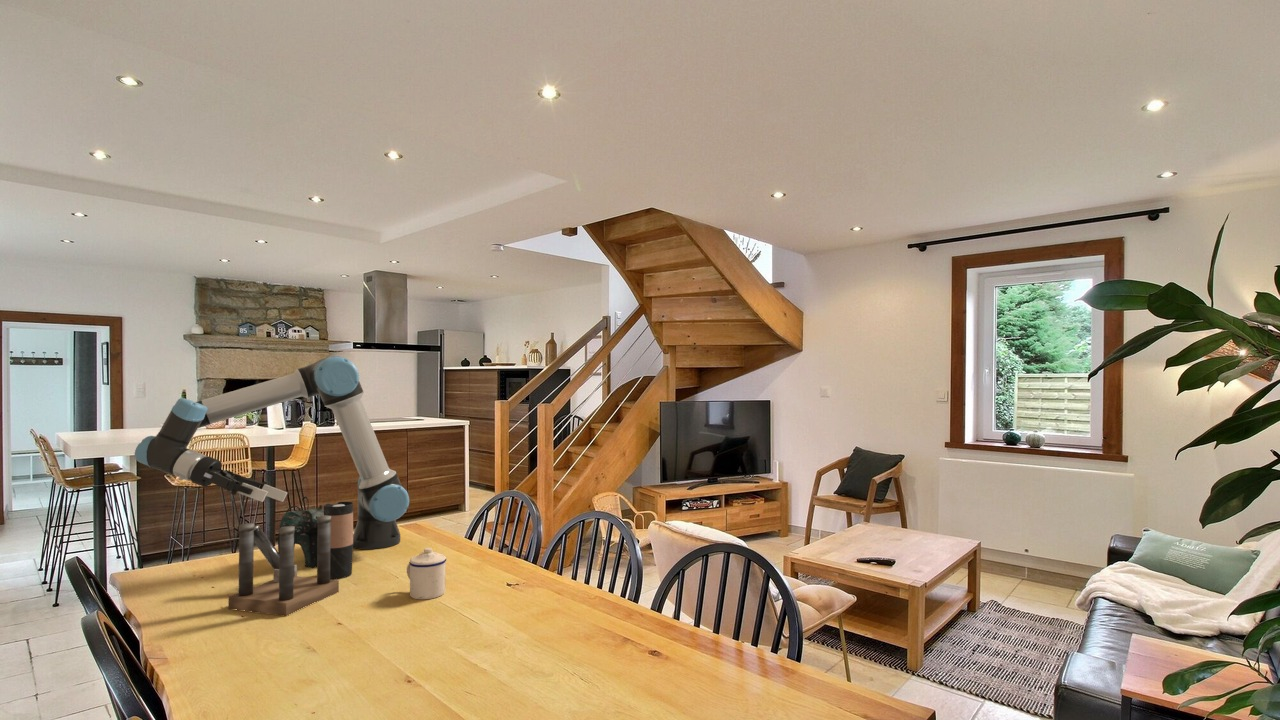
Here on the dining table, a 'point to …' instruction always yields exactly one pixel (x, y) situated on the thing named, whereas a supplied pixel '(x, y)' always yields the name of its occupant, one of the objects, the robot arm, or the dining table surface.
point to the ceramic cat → (304, 531)
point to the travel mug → (340, 539)
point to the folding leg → (266, 547)
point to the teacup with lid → (427, 575)
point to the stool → (283, 574)
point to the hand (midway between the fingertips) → (275, 497)
